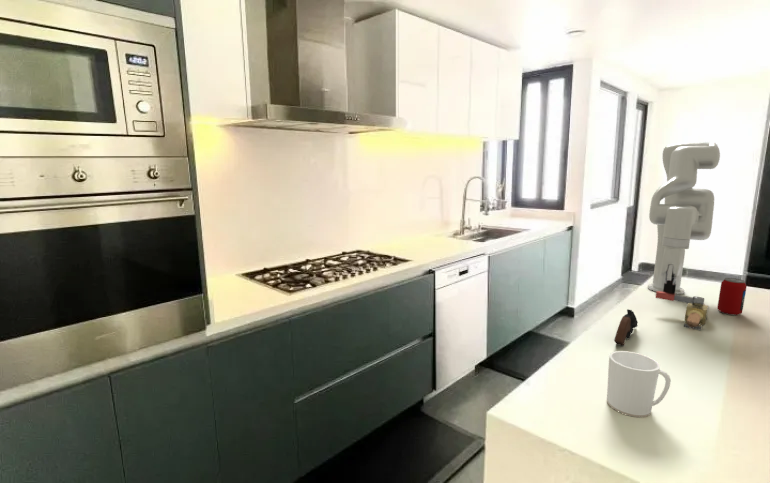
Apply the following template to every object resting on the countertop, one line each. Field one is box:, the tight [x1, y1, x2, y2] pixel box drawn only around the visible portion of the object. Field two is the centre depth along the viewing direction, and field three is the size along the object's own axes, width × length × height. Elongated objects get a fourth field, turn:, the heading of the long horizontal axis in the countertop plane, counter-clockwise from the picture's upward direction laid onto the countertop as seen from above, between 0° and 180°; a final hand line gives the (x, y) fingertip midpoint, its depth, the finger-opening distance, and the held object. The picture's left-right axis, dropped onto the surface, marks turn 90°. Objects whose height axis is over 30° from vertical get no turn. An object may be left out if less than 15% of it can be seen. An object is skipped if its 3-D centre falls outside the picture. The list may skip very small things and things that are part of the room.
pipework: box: [683, 303, 709, 331], centre depth 134 cm, size 22×5×5 cm, turn 138°
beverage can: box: [716, 277, 747, 316], centre depth 141 cm, size 7×7×12 cm
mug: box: [606, 350, 672, 418], centre depth 84 cm, size 11×9×10 cm
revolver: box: [614, 308, 639, 346], centre depth 120 cm, size 3×18×12 cm
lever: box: [655, 291, 705, 307], centre depth 137 cm, size 13×3×3 cm, turn 48°
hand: (668, 294), depth 141 cm, fingers closed
